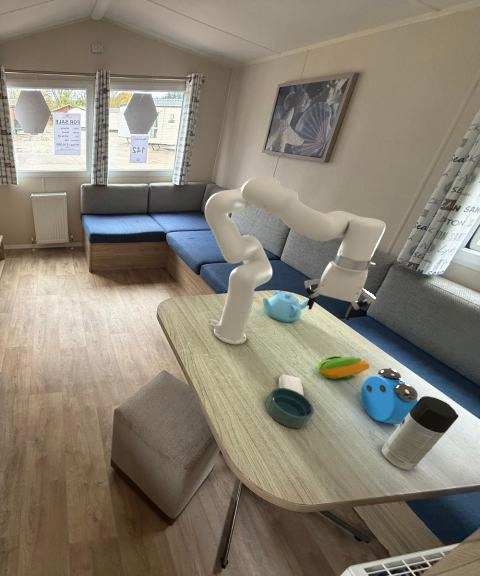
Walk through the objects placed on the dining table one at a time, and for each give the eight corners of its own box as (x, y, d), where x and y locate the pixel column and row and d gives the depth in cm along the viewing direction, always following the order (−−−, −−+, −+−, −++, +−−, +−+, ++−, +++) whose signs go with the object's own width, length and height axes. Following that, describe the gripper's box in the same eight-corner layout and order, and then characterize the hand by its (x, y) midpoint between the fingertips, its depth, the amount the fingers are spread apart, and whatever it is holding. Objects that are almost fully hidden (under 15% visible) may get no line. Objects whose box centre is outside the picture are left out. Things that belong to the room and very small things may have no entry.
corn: (316, 353, 107) (363, 347, 110) (307, 369, 111) (353, 362, 114) (334, 369, 100) (383, 362, 104) (324, 385, 105) (372, 378, 108)
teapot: (299, 330, 132) (308, 307, 127) (257, 315, 142) (263, 293, 137) (306, 315, 143) (314, 294, 138) (266, 302, 153) (273, 282, 148)
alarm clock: (403, 435, 88) (431, 397, 81) (379, 431, 88) (405, 394, 81) (374, 399, 99) (397, 364, 92) (353, 396, 100) (374, 361, 93)
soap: (277, 377, 107) (280, 371, 106) (300, 383, 105) (303, 377, 103) (280, 395, 100) (282, 389, 98) (304, 402, 97) (307, 396, 96)
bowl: (263, 417, 92) (267, 405, 90) (268, 393, 100) (273, 382, 98) (306, 436, 86) (312, 424, 84) (308, 410, 95) (314, 398, 92)
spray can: (406, 451, 83) (447, 399, 74) (420, 475, 78) (467, 421, 68) (376, 443, 85) (413, 391, 76) (388, 466, 79) (429, 413, 70)
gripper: (388, 265, 86) (361, 316, 94) (315, 251, 94) (297, 299, 102) (392, 274, 80) (363, 328, 88) (314, 258, 89) (295, 309, 97)
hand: (327, 312), depth 95 cm, fingers open, 9 cm apart
